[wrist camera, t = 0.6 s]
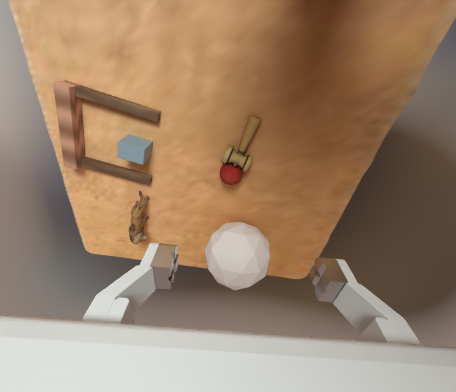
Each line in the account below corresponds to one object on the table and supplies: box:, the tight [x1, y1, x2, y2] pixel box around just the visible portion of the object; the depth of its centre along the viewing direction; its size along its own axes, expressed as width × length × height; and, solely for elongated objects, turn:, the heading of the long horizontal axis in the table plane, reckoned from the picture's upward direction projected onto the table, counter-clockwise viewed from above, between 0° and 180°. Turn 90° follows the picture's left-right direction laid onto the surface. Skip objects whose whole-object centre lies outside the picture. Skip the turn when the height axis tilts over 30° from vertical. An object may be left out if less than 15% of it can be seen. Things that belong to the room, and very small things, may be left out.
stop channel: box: [53, 81, 161, 185], centre depth 52 cm, size 20×21×4 cm
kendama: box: [220, 115, 261, 185], centre depth 52 cm, size 8×6×18 cm
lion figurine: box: [129, 191, 149, 245], centre depth 62 cm, size 15×5×9 cm, turn 174°
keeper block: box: [118, 134, 153, 165], centre depth 52 cm, size 4×6×6 cm, turn 72°
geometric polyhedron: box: [205, 222, 270, 290], centre depth 63 cm, size 19×20×20 cm
